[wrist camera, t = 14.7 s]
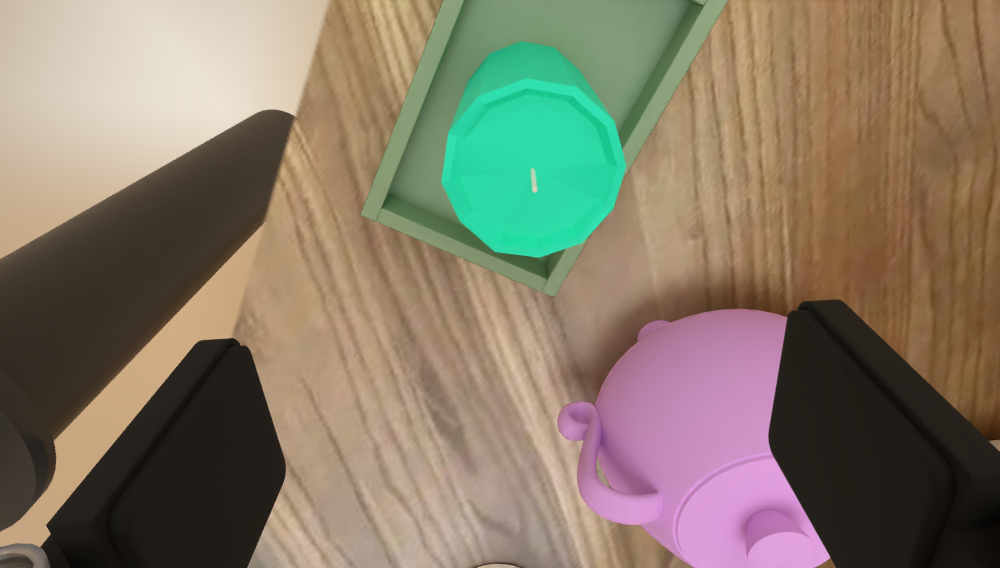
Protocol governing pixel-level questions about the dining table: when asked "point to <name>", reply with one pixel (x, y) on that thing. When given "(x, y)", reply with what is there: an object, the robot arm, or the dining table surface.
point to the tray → (587, 45)
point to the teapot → (696, 443)
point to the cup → (498, 566)
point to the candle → (531, 153)
